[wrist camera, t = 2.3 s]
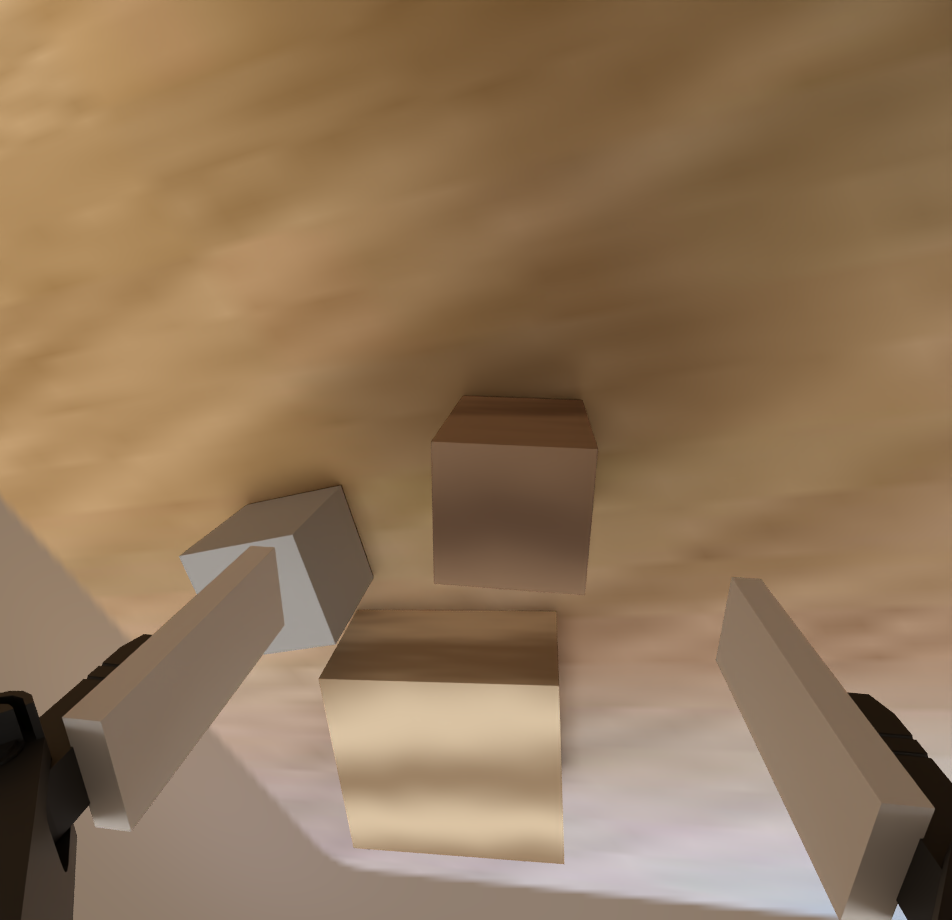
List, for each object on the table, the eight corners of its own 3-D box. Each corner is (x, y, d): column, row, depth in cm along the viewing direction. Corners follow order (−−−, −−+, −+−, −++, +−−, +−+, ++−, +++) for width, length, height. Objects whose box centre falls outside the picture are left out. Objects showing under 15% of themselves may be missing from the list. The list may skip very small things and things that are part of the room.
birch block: (358, 608, 32) (318, 679, 26) (556, 610, 30) (558, 686, 25) (383, 758, 36) (353, 847, 30) (561, 767, 34) (564, 864, 29)
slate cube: (246, 504, 30) (178, 556, 25) (340, 485, 29) (292, 534, 24) (283, 592, 32) (227, 659, 26) (373, 577, 31) (335, 644, 25)
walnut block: (462, 395, 27) (431, 441, 19) (582, 400, 26) (598, 449, 18) (462, 503, 29) (433, 583, 21) (573, 510, 28) (584, 595, 20)
